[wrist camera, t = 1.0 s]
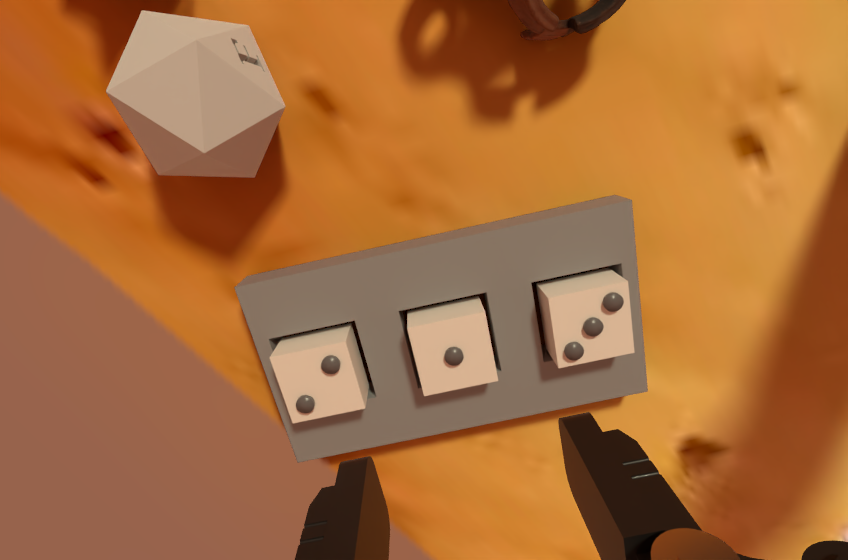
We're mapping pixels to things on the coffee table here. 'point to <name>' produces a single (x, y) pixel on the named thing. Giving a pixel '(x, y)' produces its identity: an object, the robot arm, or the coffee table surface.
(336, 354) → the two pip tile
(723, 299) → the coffee table surface
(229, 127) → the die
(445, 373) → the one pip tile
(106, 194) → the coffee table surface
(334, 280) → the button board
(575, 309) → the three pip tile
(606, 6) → the pottery mug
